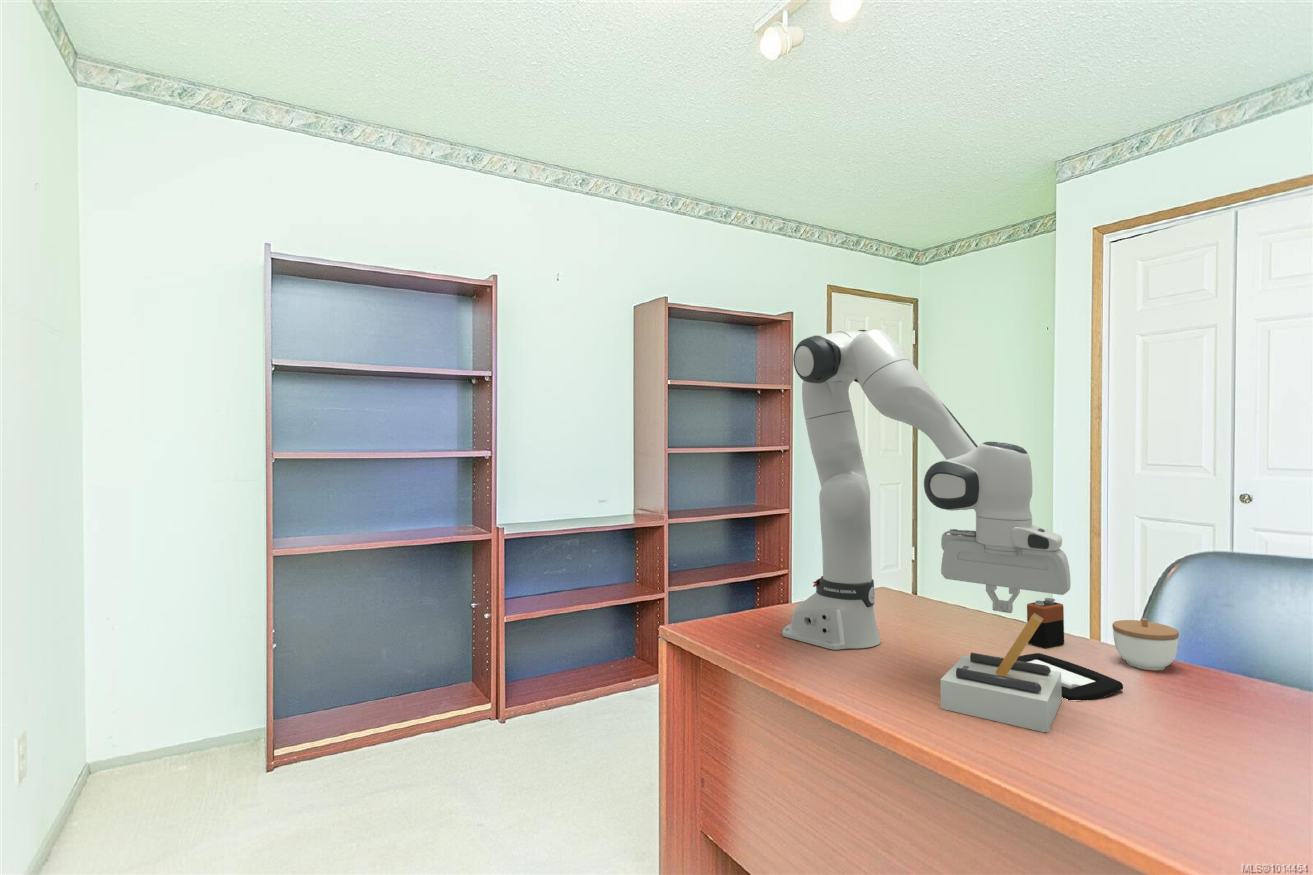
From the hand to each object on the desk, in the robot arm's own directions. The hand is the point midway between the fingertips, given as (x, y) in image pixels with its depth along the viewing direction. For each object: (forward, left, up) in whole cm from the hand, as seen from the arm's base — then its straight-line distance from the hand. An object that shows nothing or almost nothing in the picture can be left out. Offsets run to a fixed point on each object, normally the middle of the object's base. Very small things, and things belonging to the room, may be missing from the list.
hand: (1002, 611), depth 115 cm
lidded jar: (+19, +36, -16) cm, 44 cm away
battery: (+1, +40, -16) cm, 43 cm away
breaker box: (0, -2, -16) cm, 16 cm away
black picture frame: (+6, +17, -17) cm, 24 cm away
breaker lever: (0, -2, -10) cm, 11 cm away
